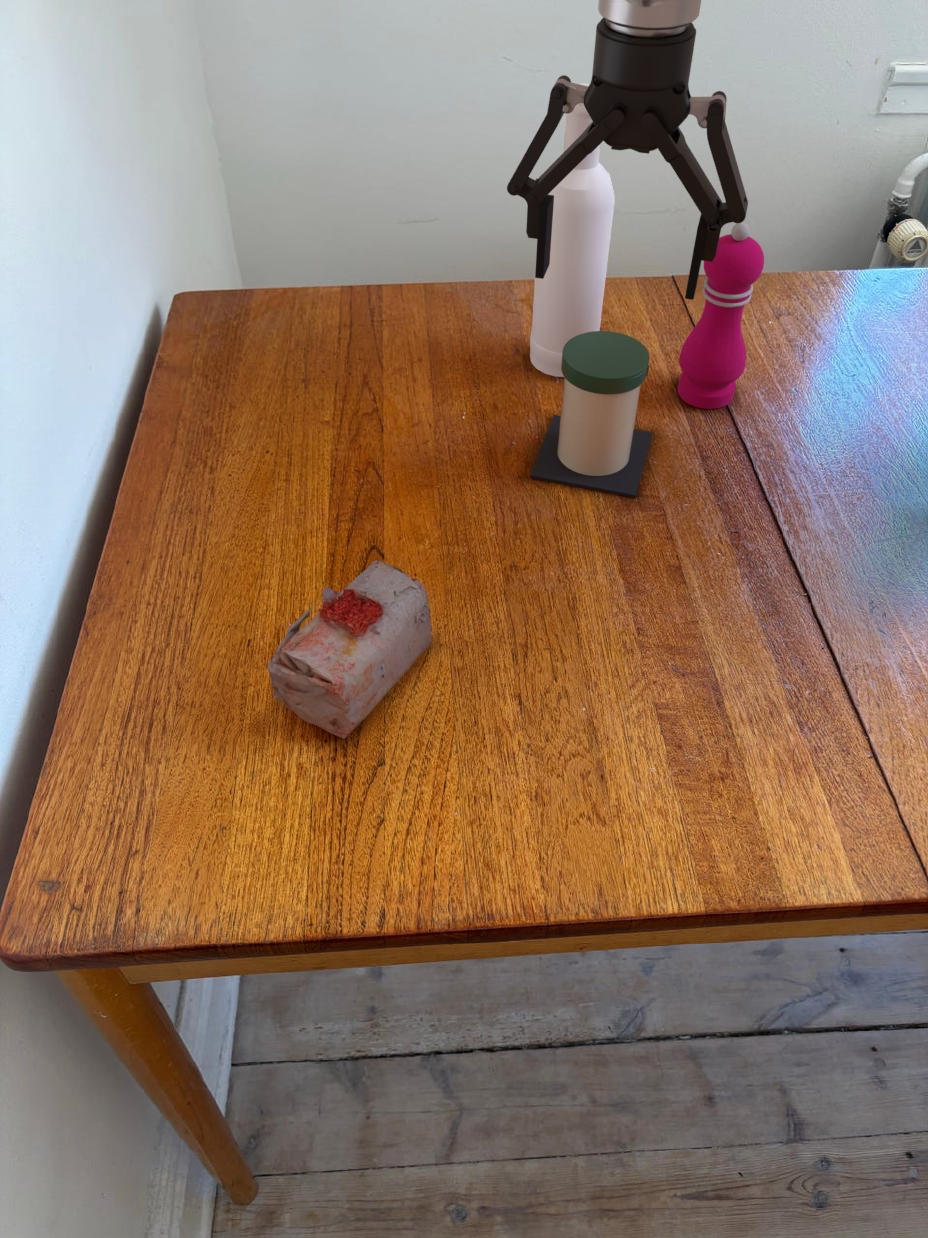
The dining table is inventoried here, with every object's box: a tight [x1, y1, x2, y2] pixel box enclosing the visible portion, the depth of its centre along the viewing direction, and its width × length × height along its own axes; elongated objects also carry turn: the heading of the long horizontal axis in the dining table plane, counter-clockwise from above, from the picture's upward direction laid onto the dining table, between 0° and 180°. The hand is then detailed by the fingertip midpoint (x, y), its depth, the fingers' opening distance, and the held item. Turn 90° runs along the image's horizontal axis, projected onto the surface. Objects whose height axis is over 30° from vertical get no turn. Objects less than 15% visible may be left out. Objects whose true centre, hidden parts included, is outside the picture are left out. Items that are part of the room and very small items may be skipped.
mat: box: [529, 414, 654, 499], centre depth 106 cm, size 11×11×1 cm
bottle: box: [529, 82, 616, 378], centre depth 108 cm, size 8×8×30 cm
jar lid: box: [561, 330, 650, 394], centre depth 98 cm, size 8×8×2 cm
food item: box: [267, 560, 434, 740], centre depth 82 cm, size 14×8×10 cm, turn 147°
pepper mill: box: [677, 221, 765, 410], centre depth 107 cm, size 7×7×20 cm
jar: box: [557, 377, 642, 476], centre depth 102 cm, size 8×8×12 cm
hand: (615, 281), depth 91 cm, fingers open, 13 cm apart
